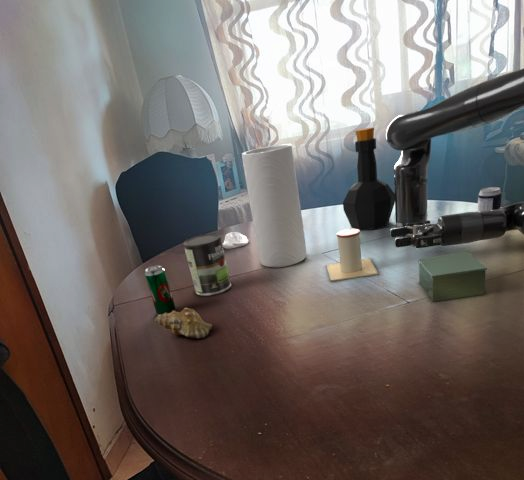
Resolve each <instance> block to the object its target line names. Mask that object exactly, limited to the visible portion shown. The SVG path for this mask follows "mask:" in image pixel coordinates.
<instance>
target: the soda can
mask: <svg viewBox="0 0 524 480" xmlns="http://www.w3.org/2000/svg"><path fill="white" fill-rule="evenodd" d="M144 278H145V281H146V284H147V287H148V291H149V294H150V296H151V301H152V304H153V306H154V309H155V313H156V315H160V314H164V313H171V312H172V311H173V310H174V311H176V308H177V307H176V304H175V302H174V301H175V300H174V297H173V294H172V291H171V286H170V283H169V280H168V277H167V273H166V270H165V268H163V265H161V264H159V265H157V264H156V265H152V266H149V267H147V268H145V270H144Z"/></svg>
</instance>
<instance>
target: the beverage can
mask: <svg viewBox="0 0 524 480" xmlns="http://www.w3.org/2000/svg"><path fill="white" fill-rule="evenodd" d="M502 193H503V192H502V191H501V187H497V186H490V187H489V186H488V187H484V188H483V187H482V188H480V189H479V193H478V195H477V210H476V212H480V211H487V210H496V209H500V208H502Z"/></svg>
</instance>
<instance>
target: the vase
mask: <svg viewBox="0 0 524 480" xmlns="http://www.w3.org/2000/svg"><path fill="white" fill-rule="evenodd" d="M241 158H242V164H243V165H242V166H243V170H244V176H245V183H246V190H247V195H248V200H249V201H248V202H249V206H250V213H251V219H252V224H253V231H254V236H255V242H256V247H257V248H256V249H257V254H258V257H259V261H260V264H261V265H263V266H264V267H266V268H273V269H274V268H276V269H277V268H286V267H289V266H293V265H297V264H299V263H301V262H303V260H305V258H306V257H307V245H306V237H305V230H304V229H305V228H304V222H303V216H302V215H303V214H302V207H301V200H300V193H299V184H298V178H297V171H296V170H297V169H296V164H295V157H294V149H293V144H292V143H281V144H272V145H268V146H262V147H258V148H254V149H250V150H247V151H243V152H242V153H241Z"/></svg>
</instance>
